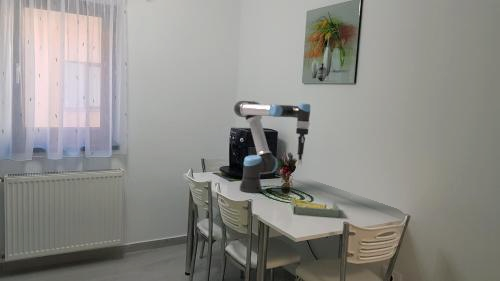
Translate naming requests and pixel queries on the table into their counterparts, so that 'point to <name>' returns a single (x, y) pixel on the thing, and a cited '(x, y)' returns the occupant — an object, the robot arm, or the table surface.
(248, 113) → the robot arm
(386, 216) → the table surface
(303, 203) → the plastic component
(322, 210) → the tray
